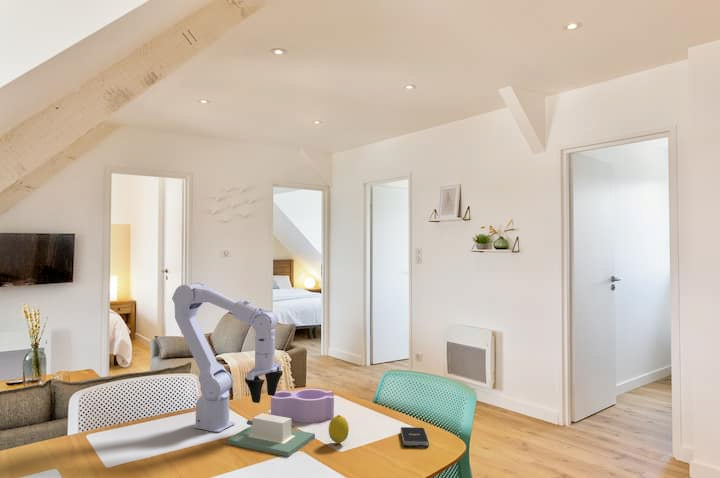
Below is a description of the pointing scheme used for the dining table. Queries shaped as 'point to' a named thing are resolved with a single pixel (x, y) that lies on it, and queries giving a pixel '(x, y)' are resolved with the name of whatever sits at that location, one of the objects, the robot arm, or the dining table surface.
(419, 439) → the external hard drive
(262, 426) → the plug housing
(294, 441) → the board
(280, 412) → the purple lobed piece
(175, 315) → the robot arm
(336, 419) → the lemon
